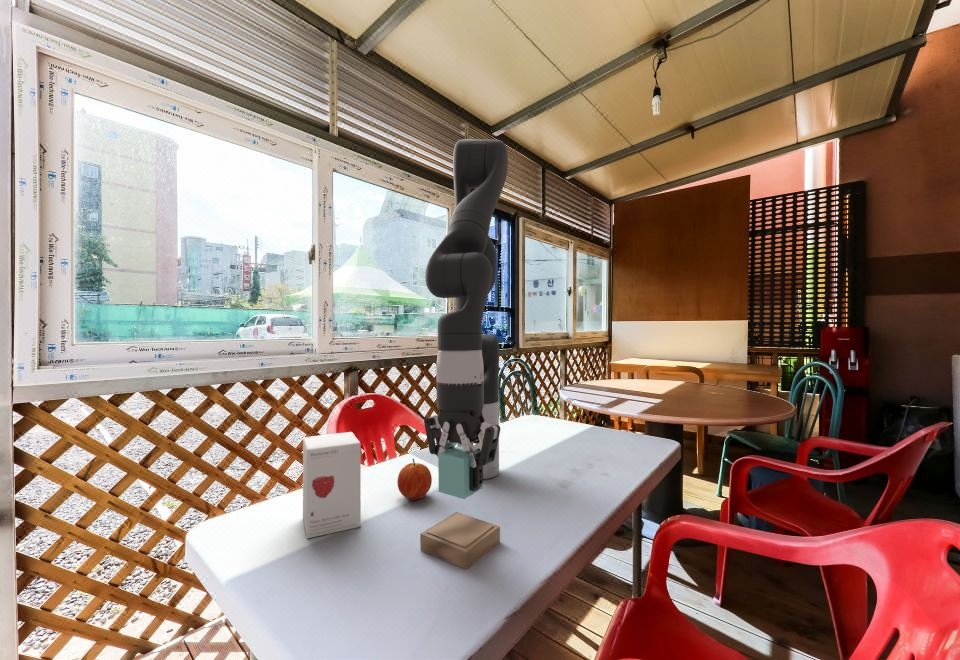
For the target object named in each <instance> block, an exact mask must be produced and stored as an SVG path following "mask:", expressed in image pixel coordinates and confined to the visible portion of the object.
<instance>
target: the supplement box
mask: <svg viewBox="0 0 960 660" xmlns="http://www.w3.org/2000/svg"><path fill="white" fill-rule="evenodd" d="M361 449H362V448H361V442H360V440H359V439H358V438H357V437H356V436H355V433H353V432H352V431H348V432H347V431H346V432H337V433H329V434H321V435H311V436H304V437H303V438H302V520H303V525H304V526H303V527H304V531H305V537H306V539H312V538H316V537H319V536H321V537H322V536H325V535H330V534H333V533H339V532H343V531H346V530H347V531H348V530H351V529H355V528H360V527H361V526H362V523H361V521H362V520H361V519H362V518H361V517H362V516H361V514H362V512H361V509H362V508H361V504H362V503H361V502H362V501H361V499H362V497H361V495H362V493H361V487H362V486H361V482H362V481H361V479H362V478H361V477H362V476H361V473H362V472H361V471H362V470H361V465H362V464H361V459H362V458H361V457H362V455H361V454H362V453H361V452H362V451H361Z"/></svg>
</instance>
